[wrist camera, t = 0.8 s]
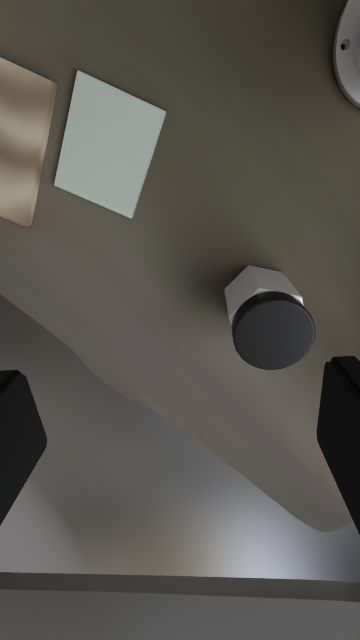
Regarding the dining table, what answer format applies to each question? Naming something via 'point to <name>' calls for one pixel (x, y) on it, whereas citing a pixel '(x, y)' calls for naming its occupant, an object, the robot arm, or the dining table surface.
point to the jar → (268, 319)
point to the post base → (22, 138)
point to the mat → (107, 145)
